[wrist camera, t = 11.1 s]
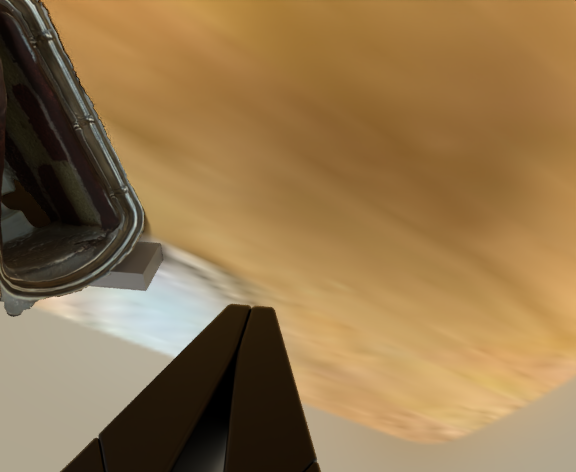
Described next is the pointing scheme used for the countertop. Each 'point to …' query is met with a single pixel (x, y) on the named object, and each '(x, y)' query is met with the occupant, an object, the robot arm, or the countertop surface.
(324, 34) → the countertop surface
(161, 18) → the countertop surface
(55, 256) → the dark piece
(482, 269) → the countertop surface
